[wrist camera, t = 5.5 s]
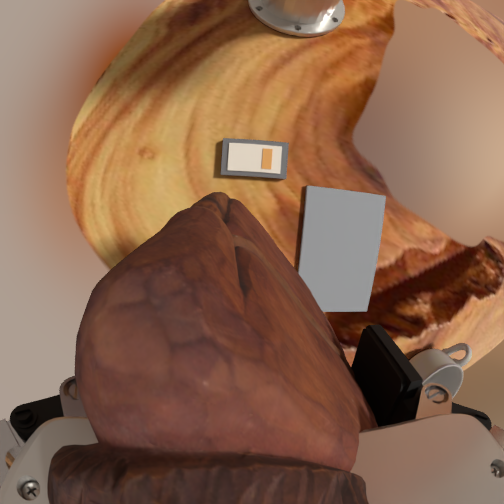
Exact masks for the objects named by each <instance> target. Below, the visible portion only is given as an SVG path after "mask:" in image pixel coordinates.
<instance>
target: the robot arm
mask: <svg viewBox="0 0 504 504" xmlns="http://www.w3.org/2000/svg"><path fill="white" fill-rule="evenodd" d="M248 3H249V7H250V9H251V11H252V13H253V14H254V15H255V16H256V18H257V19H259V20H260V21H261V22H262V23H264V24H265V25H267V26H269V27H270V28H272V29H275V30H277V31H279V32H282V33H286V34H289V35H295V36H304V37H312V36H320V35H324V34H327V33H329V32H332V31H333V30H335V29H336V28H337V27H338V26H339V25H340V23H341V22H342V20H343V18H344V15H345V7H344V4H343V1H342V0H248ZM351 368H352V370H353V372H354V375H355V380H356V382H357V383H358V385H359V387H360V388H361V390H362V392H363V394H364V396H365V398H366V400H367V402H368V404H369V406H370V408H371V410H372V412H373V414H374V417H375V420H376V423H377V425H378V427H377V428H372V429H366V430H363V431H362V432H360V433H359V446H358V451H357V456H356V461H355V464H354V466H353V468H352V470H351V471H350V472H351V473H355V474H357V475H359V476H361V477H362V478H363V480H364V481H365V483H366V495H367V500H368V503H369V504H504V430H503V429H502V428H500V427H498V426H496V425H494V426H493V427H491V421H490V419H489V417H488V416H487V415H486V414H484V413H483V412H480V411H477V410H474V409H471V408H468V407H464V406H461V405H459V404H455V403H453V402H452V394H451V392H450V391H449V390H448V389H447V388H446V387H445V386H443V385H441V384H438V383H428V384H426V385H425V386H423V385H422V381H423V379H422V377H421V376H420V375H419V373H418V372H417V371H416V369H415V368H414V367H413V365H412V364H411V363H410V362H409V360H408V359H407V358H406V356H405V355H404V354H403V353H402V351H401V350H400V349H399V347H398V346H397V345H396V344H395V342H394V341H393V340H392V339H391V337H390V336H389V335H388V334H387V332H386V331H385V330H384V329H383V327H382V326H381V325H368V326H367V327H366V329H363V331H362V334H361V338H360V341H359V345H358V348H357V351H356V354H355V358H354V361H353V364H352V367H351ZM59 391H60V395H57V396H53V397H50V398H46V399H42V400H38V401H34V402H30V403H26V404H22V405H20V406H17V407H16V408H15V409H14V410H13V411H12V413H11V415H10V420H9V421H6V420H5V419H3V420H1V421H0V504H49V500H48V494H47V483H48V472H49V467H50V463H51V459H52V457H53V455H54V454H55V453H56V452H57V451H58V450H59V449H60V448H61V447H62V446H67V445H74V444H76V445H88V444H94V443H98V440H97V438H96V436H95V433H94V431H93V429H92V427H91V424H90V422H89V420H88V417H87V415H86V413H85V410H84V407H83V404H82V401H81V398H80V394H79V391H78V387H77V383H76V378H75V376H72V377H70V378H68V379H66V380H64V382H63V383H62V384H61V386H60V390H59Z"/></svg>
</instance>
